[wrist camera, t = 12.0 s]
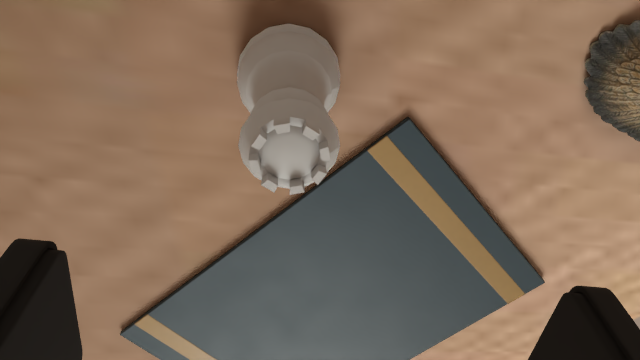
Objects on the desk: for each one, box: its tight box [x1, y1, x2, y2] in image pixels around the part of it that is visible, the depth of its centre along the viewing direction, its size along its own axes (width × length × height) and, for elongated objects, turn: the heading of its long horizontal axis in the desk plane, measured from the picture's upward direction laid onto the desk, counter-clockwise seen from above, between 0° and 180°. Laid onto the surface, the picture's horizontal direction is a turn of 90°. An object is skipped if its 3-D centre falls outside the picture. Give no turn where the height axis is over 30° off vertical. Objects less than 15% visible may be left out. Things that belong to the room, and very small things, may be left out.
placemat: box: [120, 117, 545, 360], centre depth 30 cm, size 21×14×1 cm, turn 130°
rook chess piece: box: [237, 24, 340, 195], centre depth 19 cm, size 4×4×8 cm
